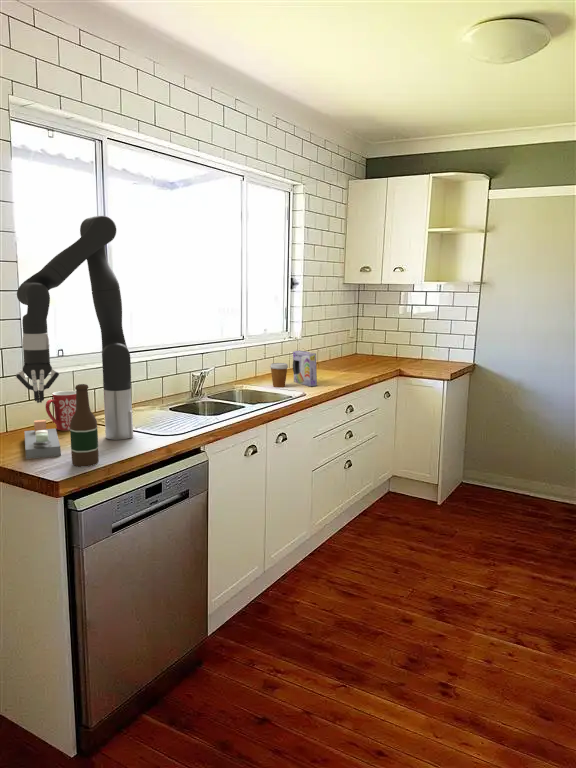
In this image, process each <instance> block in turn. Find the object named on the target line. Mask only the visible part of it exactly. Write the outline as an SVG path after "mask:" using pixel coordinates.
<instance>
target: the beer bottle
mask: <svg viewBox="0 0 576 768" xmlns="http://www.w3.org/2000/svg"><path fill="white" fill-rule="evenodd" d="M88 389H89V386H88V384H87V383H81V384H80V383H79V384H77V385H75V387H74V390H76V411H75V414H74V415H73V417H72V419H71V422H70V430H69V432H70V433H69V434H70V450H71V451H70V453H71V462H72V463H71V464H72V465H73V466H75V467H77V466H78V468H82V467H81V466H88V467H91V465H92V466H95V464H96V465H97V464H98V463H99V455H100V453H99V434H98V433H99V432H98V431H99V430H98V422H97V419H96V416H95V414H94V413H93V411H92V410H91V407H90V401H89V400H90V399H89V390H88Z"/></svg>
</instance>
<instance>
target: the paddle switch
mask: <svg viewBox="0 0 576 768" xmlns="http://www.w3.org/2000/svg"><path fill="white" fill-rule="evenodd" d="M33 425H34V430H35V432H36V431H38V430H46V429H47V420H46V419H38V420H37V419H35V420H33Z"/></svg>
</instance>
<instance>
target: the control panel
mask: <svg viewBox="0 0 576 768" xmlns="http://www.w3.org/2000/svg"><path fill="white" fill-rule="evenodd" d="M46 430H47V431H48V438H49V441H47V442H36V433H35V429H34V430H33V429H31V430H24V445H25V446H24V447H25V460H31V459H30V458H33V459H41V458H40V457H43V458H49V457H51V456H52V457H61V456H62V455H61V454H62V453H61V452H62V450H61V449H62V448H61V443H60V439H59V437H58V432H57V428H46ZM60 455H61V456H60Z"/></svg>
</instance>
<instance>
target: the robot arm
mask: <svg viewBox="0 0 576 768" xmlns="http://www.w3.org/2000/svg"><path fill="white" fill-rule="evenodd" d="M79 235H80V237H79V238H78V239H77V240H76V241H74V243H72V244H71V245H69V246H68V247H66V248H65V249H63V250H62V251H60V252H59V253H58V254H56V255H55V256H54V257H52V259H50V260H49V261H48V263H46V264H45V265H44V266H43V267H42V268H41V270H39V271H38V272H36V273H34V274H33V275H32V276H30V277H29V278H27V279H26V280H24V281H23V282H22V283H21V284H20V285H19V287H18V289H17V291H16V297H17V299H18V301H19V302H20V303H21V304H23V305H25V306H27V307H26V308H27V309H26V314H24V315H23V316H22V319H21V320H22V351H23V352H22V353H23V354H22V355H23V366H22V370H21V371H20V372H19V373H16V375H15V377H16V379H17V380H19V382H20V383H21V384H22V385H23V386H24V387H25V388H26V389H27V390H30V391H33V397H34V398H33V399H34V401H35V402H36V403H37V404H39V403H40V404H42V402H44V400H45V393H44V392H45V390H47V389H50V387H51V386H52V385H53V384H54V383H55V382H56V380H57V378H58V377H59V376H60V374H59V371H56V370H55V369H53V367H52V365H51V356H50V339H49V334H48V322H47V321H48V320H47V319H48V316H49V309H50V303H51V296H50V292H49V291H50V290H51V289H55V288H58V287H59V286H61V285H62V283H64V282H65V280H67V279H68V278H69V277H70V276H71V275H72V274H73V272H75V270H77V269H78V268H79V267H80V266H81V265H82V264H84V262H85V261H86V262H87V270H88V274H89V282H90V287H91V289H90V290H91V295H92V302H93V306H94V307H93V308H94V310H95V315H96V319H97V322H98V324H99V329H100V334H101V336H100V337H101V359H102V361H101V362H102V363H101V364H102V386H103V387H102V388H103V405H104V410H103V411H104V427H105V438H106V439H108V440H114V441H116V440H117V441H118V440H126V439H132V438H133V436H134V424H133V421H134V418H133V407H132V405H133V404H132V367H131V366H132V362H131V353H130V351H129V349H128V345H127V343H126V338H125V334H124V329H123V303H122V293H121V287H120V283H119V280H118V278H117V276H116V275H115V272H114V271H113V269H112V267H111V264H110V263H109V260H108V256H107V250H106V246H107V244H109V243H111V242H113V240H114V239H115V237H116V235H117V225H116V223H115V222H114V220H113V219H112V218H111V217H110V216H106V215H95V216H90V217H88V218H85V219H83V221H82V222H81V224H80V228H79ZM49 375H50V378H49V379H48V381H47V382H46V383H45V379H47V377H48V376H49ZM26 376H27V377H28V379H29V380H31V381H32V384H30V382H29V381H27V380H26V378H25V377H26ZM38 380H39V383H38V382H37V381H38ZM38 385H39V386H38ZM38 387H39V388H38Z"/></svg>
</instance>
